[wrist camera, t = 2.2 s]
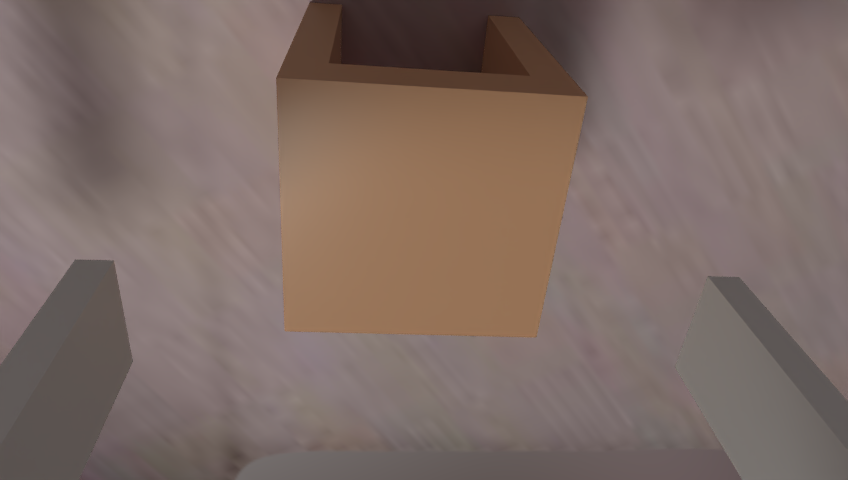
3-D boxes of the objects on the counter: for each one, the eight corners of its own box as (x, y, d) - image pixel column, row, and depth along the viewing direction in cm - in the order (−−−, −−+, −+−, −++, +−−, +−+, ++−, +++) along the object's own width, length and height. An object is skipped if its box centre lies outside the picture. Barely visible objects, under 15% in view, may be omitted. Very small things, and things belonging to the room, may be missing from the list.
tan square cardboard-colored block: (518, 17, 25) (587, 96, 17) (491, 201, 29) (536, 337, 21) (309, 2, 24) (276, 77, 16) (311, 193, 29) (284, 331, 20)
